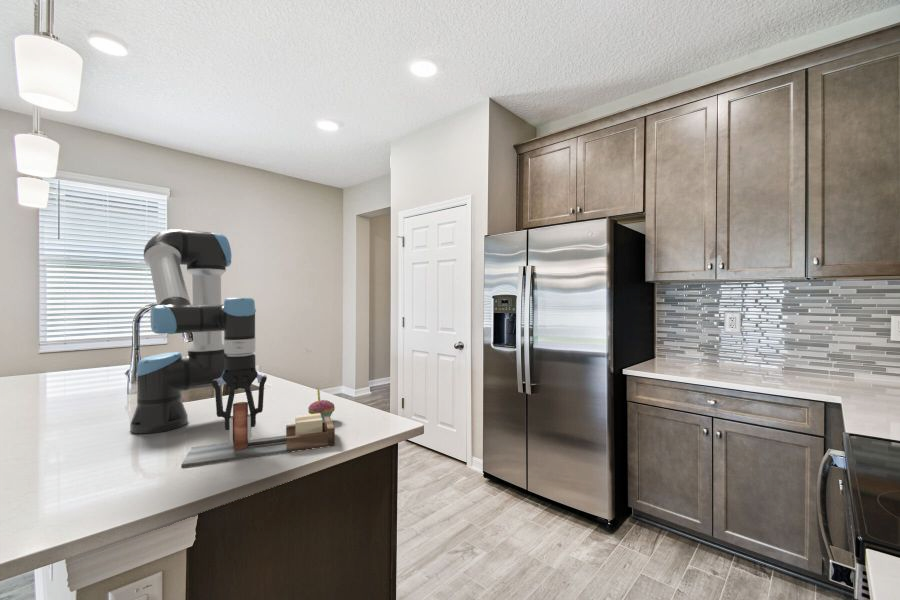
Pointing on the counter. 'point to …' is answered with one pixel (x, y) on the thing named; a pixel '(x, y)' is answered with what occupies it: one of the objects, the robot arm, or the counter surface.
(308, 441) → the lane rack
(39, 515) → the counter surface
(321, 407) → the cupcake
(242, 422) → the rod with end block
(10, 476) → the counter surface
